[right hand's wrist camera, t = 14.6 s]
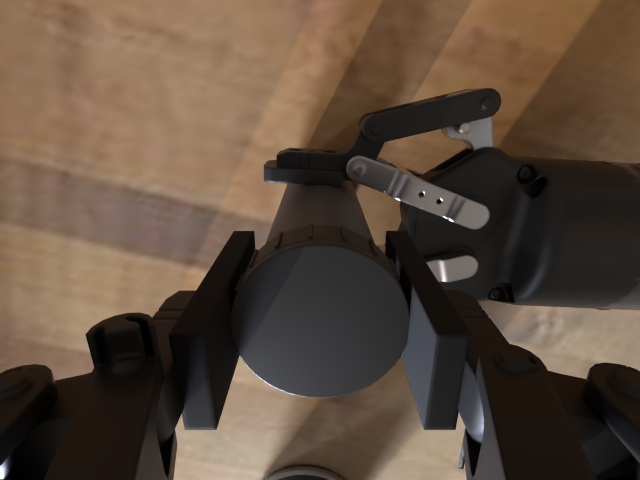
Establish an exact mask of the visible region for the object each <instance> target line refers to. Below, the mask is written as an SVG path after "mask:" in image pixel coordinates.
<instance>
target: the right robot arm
mask: <svg viewBox="0 0 640 480" xmlns="http://www.w3.org/2000/svg"><path fill="white" fill-rule="evenodd" d="M254 252H255V238H254V231H234V232H233V234H232V235H231V237H230V238H229V240H228V242H227V243H226V245H225V246H224V248H223V249H222V251H221V253H220V254H219V256H218V257H217V259H216V260H215V262H214V264H213V265H212V267H211V268H210V270H209V271H208V273H207V275H206V276H205V278H204V279H203V281H202V282H201V284H200V286H199V287H198V289H197V290H196V291H178V292H177V293H175V294H174V295H172V296H171V297H169V298H167V299H166V300H165V302H164V303H163V304H162V306H161V307H160V308H159V311H157V312H156V313H155V315H154V316H153V317H151V316H149V315H147V314H143V313H125V314H121V315H116V316H113V317H110V318H108V319H105V320H103V321H101V322H99V323H98V324H96V325H95V326H93V327H92V328H91V329H90V330H89V331H88V332H87V333H86V338H87V342H88V345H89V349H90V353H91V356H92V360H93V364H94V369H93V371H92V373H88V374H85V375H80V376H75V377H70V378H66V379H61V380H56V381H55V380H54V377H53V374H52V371H51V370H50V369H49V368H48V367H47V366H44V365H37V364H33V365H25V366H19V367H15V368H12V369H9V370H6V371H4V372H3V373H0V480H173V478H174V469H175V460H176V451H177V439H176V433H175V427H176V425H177V423H178V420H179V418H180V416H181V413H182V416H183V421H184V427H185V430H216V429H217V426H218V423H219V420H220V416H221V413H222V410H223V407H224V403H225V400H226V397H227V394H228V391H229V387H230V384H231V381H232V378H233V374H234V371H235V368H236V365H237V362H238V358H239V353H238V351H237V349H236V347H235V344H234V341H233V335H232V326H231V307H232V303H233V300H234V297H235V294H234V290H235V288H236V285H237V283H238V281H239V278H240V276H241V274H244V273H245V271H246V269H247V267H248V265H249V263H250V261H251V259H252V256H253V254H254ZM385 255H386V256H387V258H388V259H389V260H390V259H392V260H393V262H394V265H395V267H396V269H397V271H398V274H399V276H400V278H398V279H399V282H400V284H401V286H402V289H403V291H404V293H405V296H406V298H407V302H408V305H409V310H410V320H409V330H408V339H407V343H406V346H405V348H404V350H403V352H402V354H401V357H402V360H403V364H404V367H405V370H406V373H407V376H408V380H409V383H410V386H411V389H412V393H413V396H414V399H415V402H416V405H417V409H418V412H419V415H420V418H421V422H422V425H423V428H424V430H455V429H456V424H457V418H458V412H459V413H460V415H461V418H462V420H463V422H464V424H465V427H466V428H465V433H464V438H463V444H462V449H461V454H460V460H459V467H458V468H461V469H463V468H464V463H465V468H466V477H467V480H640V371H638V370H636V369H634V368H631V367H626V366H624V365H620V364H613V363H600V364H595V365H594V366H592V367H591V368H590V370H589V373H588V376H587V379H583V378H578V377H573V376H568V375H563V374H559V373H555V372H551V371H547V368H546V366H545V365H544V364H543V362H542V361H541V360H540V358H538V357H537V356H535V355H534V354H533V353H531V352H530V351H528V350H526V349H523V348H521V347H519V346H515V345H511V344H509V343H508V342H507V340H506V339H505V338H504V336H503V335H502V334H501V332H500V331H499V330H498V328H497V327H496V326H495V324H494V323H493V322H492V321H491V319H490V318H488V315H487V314H486V313H485V311H484V310H482V307H481V306H480V305H479V303H478V302H477V301H476V300H475V298H473V297H472V296H470V295H469V294H467V293H466V292H464V291H463V290H443V288H442V287H441V285H440V283H439V282H438V280H437V279H436V277H435V275H434V274H433V272H432V271H431V269H430V268H429V266H428V264H427V263H426V261H425V260H424V258H423V257H422V255H421V253H420V252H419V250H418V249H417V247H416V246H415V244H414V242H413V241H412V239H411V238H410V236H409V235H408V233H407V231H386V243H385Z"/></svg>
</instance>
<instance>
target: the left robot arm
mask: <svg viewBox="0 0 640 480" xmlns="http://www.w3.org/2000/svg"><path fill="white" fill-rule="evenodd" d="M500 105H501V97H500V95H499V93H498V92H497V91H496V90H494V89H491V88H485V89H466V90H462V91H457V92H453V93H449V94H445V95H441V96H437V97H432V98H428V99H424V100H420V101H416V102H412V103H407V104H403V105H399V106H395V107H391V108H387V109H383V110H378V111H374V112H370V113H366V114H364V115H363V116H362V117H361V118H360V120H359V123H358V129H357V131H356V133H355V136H354V138H353V140H352V142H351V144H350V145H349V146H348V147H346V148H345V149H342V150H321V149H301V148H288V149H285V150H282V151H280V152H279V153H278V155H277V160H270V161H267V162H266V164H265V165H264V181H266V182H272V183H291V184H311V185H331V186H342V182H343V181H354V182H357V183H360V184H362V185H365V186H368V187H370V188H373V189H375V190H378V191H381V192H383V193H386V194H388V195H390V196H391V197H393V198H395V199H397V200H399V201H400V211H401V218H402V221H401V224H400V226H399V228H398V231H407V233H408V235H409V236H410V238H411V239H412V241H413V242H414V244H415V246H416V247H417V249H418V250H419V252H420V253H421V255H422V257H423V258H424V260H425V261H426V263H427V264H428V266H429V268H430V269H431V271H432V272H433V274H434V275H435V277H436V279H437V280H438V282H439V283H440V285H441V287H442V288H443V290H463V291H464V292H466V293H467V294H469V295H470V296H472V297H473V298H475V300H476V301H477V302H480V301H485V300H493V301H498V302H503V303H508V304H514V305H530V306H553V307H576V308H594V309H599V310H609V309H621V310H640V163H620V162H602V161H582V160H563V159H543V158H523V157H511V156H509V155H507V154H506V153H504V152H503V151H502V150H500V149H498V148H495V147H493V131H492V116H493V115H494V114H495V113H496V112H497V111H498V110H499V108H500ZM438 129H441V132H442V133H443V135H444V136H446V137H448V138H451V139H455V140H463V141H464V142H465V144H466V147H467V148H466V149H464V150H462V151H461V152H459V153H457V154H456V155H454V156H453V157H451V158H449V159H448V160H446V161H444V162H443V163H441V164H439V165H438V166H436V167H434V168H433V169H431V170H430V171H428V172H426V173H425V174H422V173H420V172H417V171H415V170H412V169H410V168H407V167H405V166H402V165H399V164H397V163H394V162H391V161H387V160H384V159H382V158H379V157H377V156H378V154H379V152H380V150H381V148H382V146H383V144H384V142H386V141H391V140H395V139H399V138H403V137H408V136H412V135H416V134H421V133H425V132H429V131H433V130H438ZM378 247H379V248H380V249H381V250H382V252H383V253H384V254H385V244H384V245H380V246H378ZM265 480H343V479H342V478H341V477H339V476H338V475H336V474H334V473H333V472H330V471H328V470H325V469H322V468H318V467H312V466H295V467H289V468H285V469H282V470H279V471H277V472H275V473H273V474H271V475H270V476H268V477H267V478H266V479H265Z"/></svg>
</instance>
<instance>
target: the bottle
mask: <svg viewBox="0 0 640 480" xmlns="http://www.w3.org/2000/svg"><path fill="white" fill-rule="evenodd" d="M309 223H313V225H330V226H336V227H341V225H343V226H345V229H348V230H351V231H354V232H356V233H358V234H360V235H362V236H364V237H366V238H367V239H370V238H372V235H371V233H370V230H369V227H368V225H367V222H366V219H365V217H364V214H363V211H362V208H361V206H360V203H359V200H358V198H357V195H356V192H355V190H354V187H353V184H352V181H343V182H342V186H331V185H311V184H291V183H288V184H287V187H286V190H285V192H284V195H283V198H282V200H281V203H280V206H279V209H278V211H277V214H276V217H275V220H274V222H273V225H272V228H271V230H270V233H269V236H268V239H267V241H266V243H268V242H269V241H270V240H272V239H273V238H275V237H277V236H278V233H279V232H281V231H282V233H284V232H287V231H289V230H292V229H295V228H299V227H304V226H309ZM372 239H373V238H372Z"/></svg>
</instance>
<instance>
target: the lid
mask: <svg viewBox="0 0 640 480" xmlns="http://www.w3.org/2000/svg"><path fill="white" fill-rule="evenodd" d="M398 278H400V276H399V274H398V271H397V269H396V267H395V265H394V262H393V260H392V259H390V260H389V259H388V258H387V256H386V255H385V254H384V253H383V252H382V250H381V249H380V248H379V247H378V246H376V245H375V243H374V240H373V239H372V238H370V239H367V238H366V237H364V236H362V235H360V234H358V233H356V232H354V231H351V230H348V229H345V226H343V225H341V227H336V226H330V225H313V223H309V226H304V227H299V228H295V229H292V230H289V231H287V232H284V233H282V231H281V232H279V233H278V236H277V237H275V238H273V239H272V240H270V241H269V242H268V243H266V244H265V245H264V246H263V247H262V248H261V249H260V250H257V249H256V250H255V252H254V254H253V256H252V259H251V261H250V263H249V265H248V267H247V269H246V271H245V273H244V274H241V276H240V278H239V281H238V283H237V285H236V288H235V290H234V294H235V297H234V300H233V303H232V307H231V326H232V335H233V341H234V344H235V347H236V349H237V351H238V353H239V355H240V357H241V358H242V360H243V361H244V363H245V364H246V365H247V366H248V367H249V369H250V370H251V371H252V372H253V373H254V374H256V375H257V376H258V377H259V378H260V379H262V380H263V381H265V382H266V383H268V384H269V385H271V386H273V387H275V388H277V389H279V390H282V391H284V392H287V393H290V394H294V395H298V396H304V397H312V398H330V397H337V396H343V395H346V394H350V393H353V392H356V391H359V390H361V389H363V388H365V387H367V386H369V385H371V384H373V383H374V382H376V381H377V380H379V379H380V378H381V377H383V376H384V375H385V374H386V373H387V372H388V371H389V370H390V369H391V368H392V367H393V366H394V365H395V363H396V362H397V360H398V359H399V358H400V356H401V354H402V352H403V350H404V348H405V346H406V343H407V339H408V330H409V320H410V310H409V305H408V302H407V298H406V296H405V293H404V291H403V289H402V286H401V284H400V282H399V279H398Z"/></svg>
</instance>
